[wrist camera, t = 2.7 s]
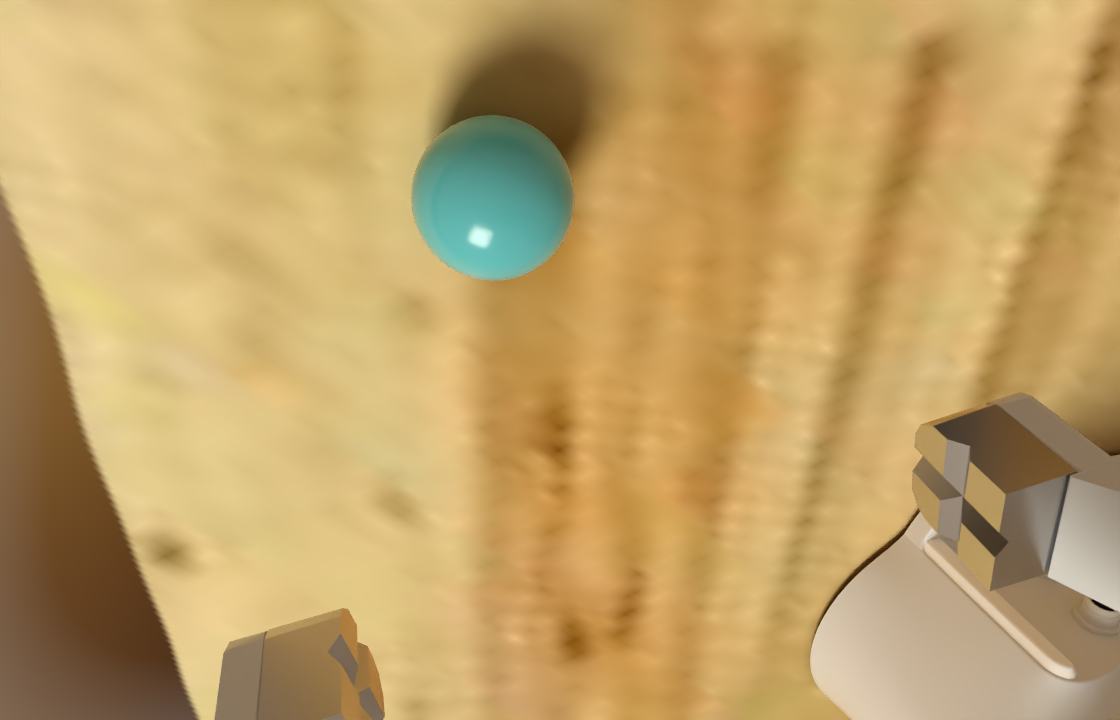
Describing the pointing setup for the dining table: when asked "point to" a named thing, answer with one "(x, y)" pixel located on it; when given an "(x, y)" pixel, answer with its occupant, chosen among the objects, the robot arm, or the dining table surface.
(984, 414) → the robot arm
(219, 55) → the dining table surface
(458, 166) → the bead
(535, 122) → the dining table surface
